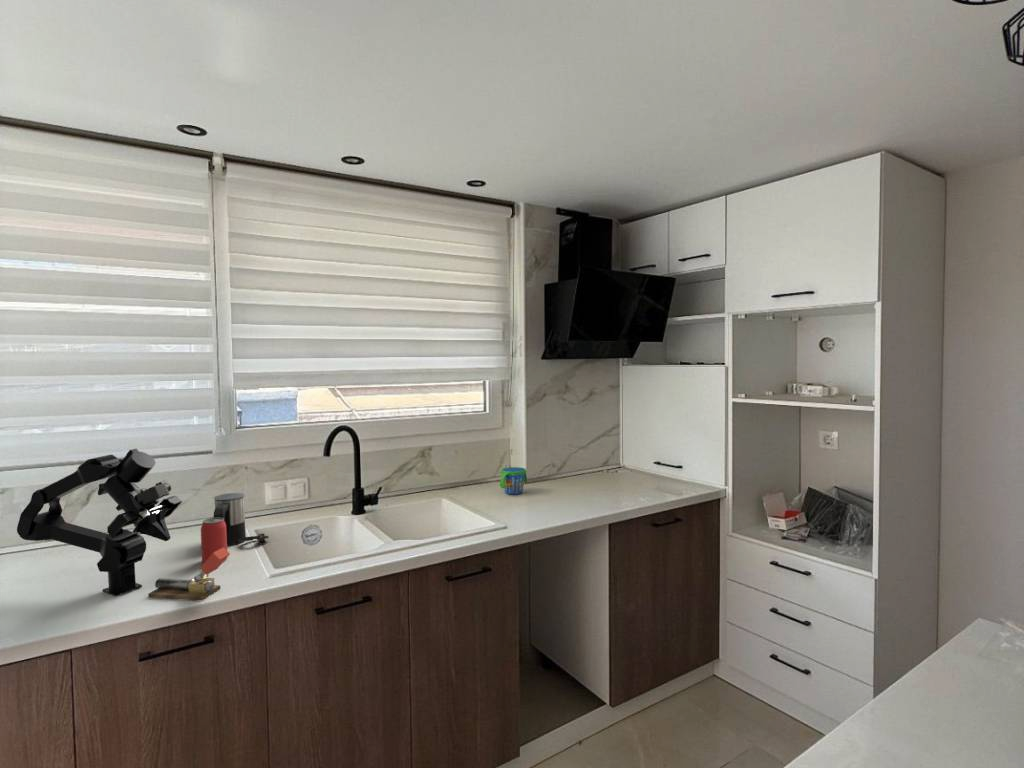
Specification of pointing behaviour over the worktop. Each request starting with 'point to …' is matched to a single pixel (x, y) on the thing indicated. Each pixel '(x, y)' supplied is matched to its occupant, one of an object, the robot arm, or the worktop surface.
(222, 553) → the valve lever
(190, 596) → the walnut board
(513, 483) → the snack cup
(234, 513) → the milk frother
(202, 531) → the beer can
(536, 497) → the worktop surface
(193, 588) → the valve body
